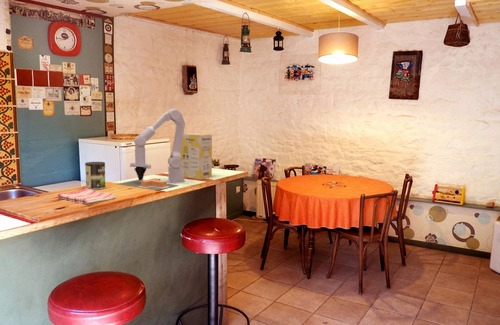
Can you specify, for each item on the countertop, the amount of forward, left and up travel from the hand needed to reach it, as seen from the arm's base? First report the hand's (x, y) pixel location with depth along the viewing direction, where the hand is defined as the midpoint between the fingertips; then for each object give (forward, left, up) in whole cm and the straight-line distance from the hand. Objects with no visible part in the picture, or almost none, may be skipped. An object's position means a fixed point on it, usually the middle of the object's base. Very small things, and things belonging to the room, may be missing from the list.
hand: (140, 179), depth 242 cm
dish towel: (+42, +5, -3) cm, 42 cm away
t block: (+1, +12, -2) cm, 13 cm away
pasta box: (-39, +10, -3) cm, 41 cm away
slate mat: (+1, +5, -3) cm, 6 cm away
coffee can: (+23, -12, -3) cm, 26 cm away
